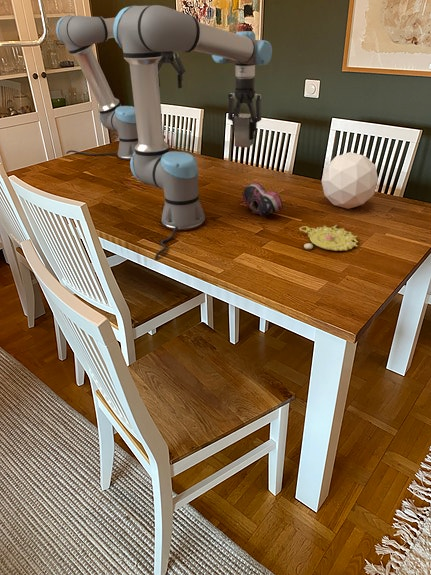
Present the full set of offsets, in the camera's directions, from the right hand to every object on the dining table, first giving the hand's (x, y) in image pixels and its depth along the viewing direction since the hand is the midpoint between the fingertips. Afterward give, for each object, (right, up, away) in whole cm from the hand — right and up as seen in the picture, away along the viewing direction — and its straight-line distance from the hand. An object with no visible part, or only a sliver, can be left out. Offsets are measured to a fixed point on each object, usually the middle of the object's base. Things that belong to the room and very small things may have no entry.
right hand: (244, 138), depth 183 cm
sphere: (+37, -31, -19) cm, 52 cm away
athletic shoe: (+3, -34, -21) cm, 40 cm away
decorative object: (+24, -47, -42) cm, 67 cm away
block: (0, -2, +1) cm, 3 cm away
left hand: (-37, +46, +56) cm, 81 cm away
